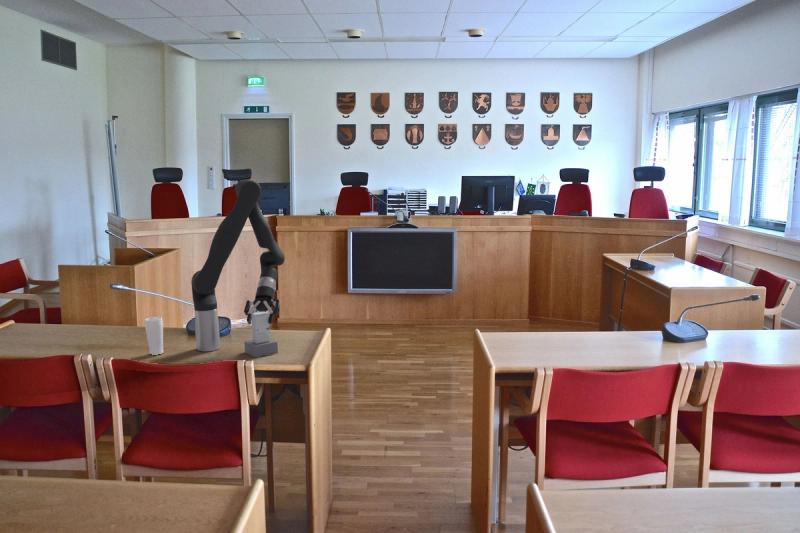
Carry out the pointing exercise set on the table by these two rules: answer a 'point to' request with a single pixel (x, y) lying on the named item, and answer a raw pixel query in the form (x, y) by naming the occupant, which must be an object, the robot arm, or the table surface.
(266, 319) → the skincare box
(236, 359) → the table surface
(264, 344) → the charcoal block
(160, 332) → the drinking glass
